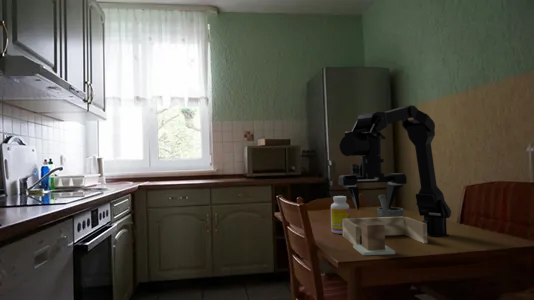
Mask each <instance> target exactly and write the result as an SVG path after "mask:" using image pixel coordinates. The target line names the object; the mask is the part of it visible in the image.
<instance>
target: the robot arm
mask: <svg viewBox="0 0 534 300" xmlns="http://www.w3.org/2000/svg"><path fill="white" fill-rule="evenodd" d="M400 121H401V127H402V128H403V129H404V131H406V133H407V137H408V139H409V141H410V142H411V143H412V144H413V146H414V149H415V157H416V163H417V169H418V171H417V172H418V177H419V178H418V179H419V183H420V184H419V185H420V189H419V191H418V192H417V193H416V194H415V199H416V200H415V201H416V206H417V210H418V212H419V216H420V217H421V216H423V220H422V222H423V223H426V224H427V236H430V237H449V236H450V234H449V233H447V229H448V228H447V227H448V226H447V219H450V218H451V215H452V210H451V208H450V207H449V205H448V204H447V202H446V200H445V196H444V193H443V192H442V190H441V189H440V188H439V187H438V185H437V179H436V178H437V177H436V172H435V166H434V165H435V164H434V158H433V157H434V156H433V150H432V142H433V140H434V137H435V136H436V131H435V130H436V124H435V122H434V120H433V119H432V117H430V115H428V114H427V113H425V112H423V111H421V110H420V109H418V108H417V107H416V106H415V105H412V104H409V105H404V106H403V105H402V106H400V107H398V108H394V109H391V110H390V109H389V110H387V111H372V112H364V113H360V114H359V115H358V116H357V119H356V121H355V124H354V125H353V127H352V129H351V131H345V132H344V136H343V137H342V138H341V140H340V143H339V150H340V153H341V154H342V155H343V156H345V157H361V158H360V161H359V165H358V164H357V163H351V164H350V165H349V174H341V175H339V176H338V181H337V183H338V185H339V186H343V188H344V189H346V190H348V192H349V194H350V196H351V198H352V201H353V204H354V207H355V210H357V211H360V191H359V189H360V188H359V186H357V184H368V183H369V184H370V183H386V184H385V187H386V201H387V208H388V209H390V207H392V204H393V202H394V201H395V200H394V199H395V198H396V195H397V193H398V191H399V190H400V188H402V187H403V188H404V185H406V184H408V177H407V174H405V173H400V172H398V173H397V172H396V173H387V174H386V175H385V173H383V163H384V158H383V155H382V152H383V151H382V140H385V141H386V139H387V138H386V136H385V135H384V134H383V133H382V131H383V130H385V129H387V128H388V125H391V124H395V123H397V122H400Z"/></svg>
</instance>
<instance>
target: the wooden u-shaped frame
mask: <svg viewBox="0 0 534 300" xmlns="http://www.w3.org/2000/svg"><path fill="white" fill-rule="evenodd" d="M361 222H380V223H382V224H384V226H385V236H401V235H405V236H407V237H409V238H411V239H413V240H415V241H418V242H419V243H421V242H422V244H428V235H427V224H426V223H423V221H420V220H417V219H414V218H412V217H409V216H406V215H405V216H404V215H403V217H378V216H377V217H357V218H356V217H354V218H352V217H350V219H342V225H343V234H342V237H344V239H346V240H347V241H349V242H350V243H351V244H352V245H361V237H362V228H361Z"/></svg>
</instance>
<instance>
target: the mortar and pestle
mask: <svg viewBox="0 0 534 300" xmlns="http://www.w3.org/2000/svg"><path fill="white" fill-rule="evenodd" d="M378 199H379V202H380V205H381V207H377V208H376V213H377V217H404V208H402V207H395V206H394V207H393V206H391V207H390V209H388V208H387V198H386V195H385V194H379V195H378Z"/></svg>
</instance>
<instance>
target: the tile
mask: <svg viewBox="0 0 534 300" xmlns="http://www.w3.org/2000/svg"><path fill="white" fill-rule="evenodd" d="M352 247H353V248H354V249H355V250H356V251H357V252H359V253H360V254H361V255H363V256H380V255H381V256H382V255H396V250H394V249H392V248H391V247H389V246H387V245H386V244H385V250H367V249H365V248H364V247H362V244H360V245H354V244H352Z"/></svg>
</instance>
